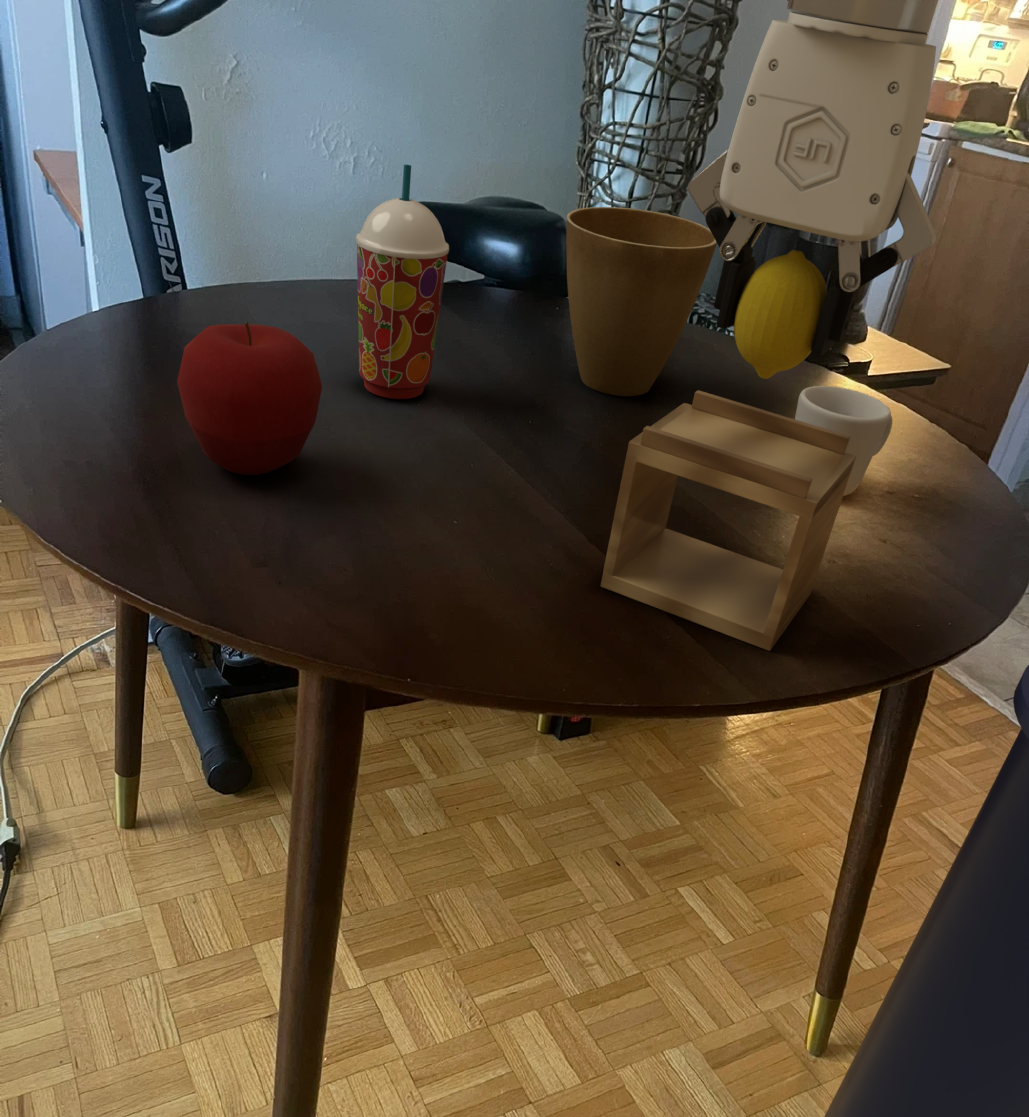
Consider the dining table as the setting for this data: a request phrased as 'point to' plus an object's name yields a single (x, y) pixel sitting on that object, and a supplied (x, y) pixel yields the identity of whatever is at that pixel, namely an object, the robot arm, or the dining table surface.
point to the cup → (848, 422)
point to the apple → (249, 395)
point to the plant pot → (631, 291)
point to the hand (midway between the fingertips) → (775, 334)
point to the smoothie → (399, 295)
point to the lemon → (779, 313)
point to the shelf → (739, 468)
